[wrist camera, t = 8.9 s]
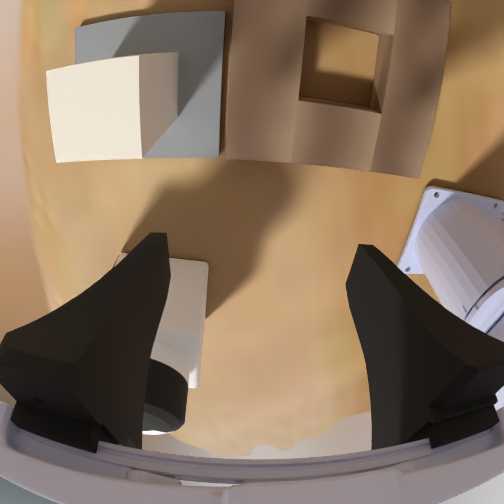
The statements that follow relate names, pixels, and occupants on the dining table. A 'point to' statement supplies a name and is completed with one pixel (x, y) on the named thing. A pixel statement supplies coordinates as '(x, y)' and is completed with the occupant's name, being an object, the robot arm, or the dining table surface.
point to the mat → (189, 70)
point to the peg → (112, 106)
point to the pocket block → (328, 111)
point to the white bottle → (176, 347)
